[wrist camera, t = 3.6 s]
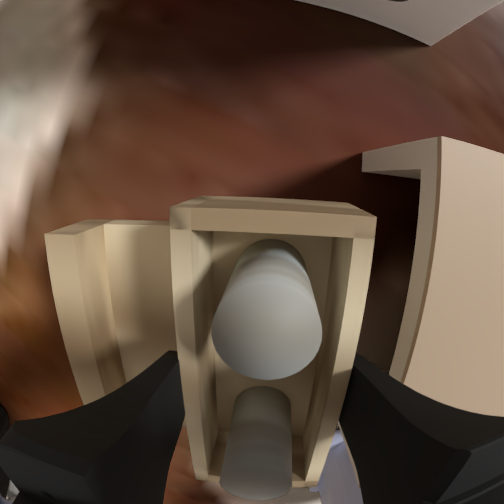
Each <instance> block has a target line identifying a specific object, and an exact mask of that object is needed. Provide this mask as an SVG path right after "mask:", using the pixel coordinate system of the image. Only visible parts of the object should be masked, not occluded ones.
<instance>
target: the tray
mask: <svg viewBox="0 0 504 504" xmlns="http://www.w3.org/2000/svg"><path fill="white" fill-rule="evenodd" d="M376 221H377V217H376V216H374V215H372V214H370V213H368V212H366V211H364V210H362V209H360V208H358V207H356V206H354V205H351V204H349V203H345V202H332V201H317V200H301V199H282V198H260V197H231V196H199V197H196V198H194V199H191V200H188V201H185V202H183V203H180V204H177V205H174V206H172V207H170V221H151V220H84V221H81V222H78V223H75V224H72V225H69V226H66V227H63V228H60V229H57V230H54V231H52V232H49V233H46V234H45V243H46V251H47V259H48V266H49V273H50V279H51V285H52V291H53V296H54V301H55V306H56V311H57V315H58V320H59V324H60V328H61V333H62V337H63V340H64V344H65V348H66V352H67V355H68V359H69V362H70V365H71V369H72V372H73V375H74V378H75V381H76V384H77V387H78V390H79V393H80V396H81V399H82V402H83V404H84V405H86V404H88V403H91V402H93V401H96V400H98V399H100V398H102V397H104V396H106V395H108V394H109V393H111V392H113V391H115V390H116V389H118V388H120V387H121V386H123V385H124V384H126V383H127V382H129V381H130V380H131V379H133V378H134V377H136V376H137V375H139V374H140V373H141V372H143V371H144V370H145V369H146V368H148V367H149V366H150V365H151V364H153V363H154V362H155V361H156V360H157V359H159V358H160V357H161V356H162V355H163V354H165V353H166V352H167V351H168V350H172V351H177V352H178V360H179V364H180V374H181V383H182V391H183V399H184V407H185V418H184V421H183V425H182V426H184V427H187V431H188V438H189V444H190V450H191V456H192V461H193V467H194V472H195V477H196V479H198V480H204V481H211V482H219V483H220V485H221V486H222V488H223V489H224V490H225V491H227V492H228V493H230V494H232V495H234V496H237V497H240V498H244V499H250V500H268V499H274V498H277V497H280V496H283V495H284V494H286V493H287V492H288V491H290V489H291V487H316V486H317V484H318V481H319V478H320V475H321V473H322V470H323V467H324V464H325V461H326V458H327V455H328V452H329V449H330V446H331V443H332V440H333V437H334V433H335V430H336V427H337V423H338V420H339V417H340V413H341V410H342V406H343V402H344V399H345V395H346V391H347V387H348V383H349V379H350V375H351V371H352V367H353V362H354V358H355V354H356V349H357V344H358V340H359V335H360V330H361V325H362V319H363V314H364V308H365V303H366V297H367V291H368V284H369V278H370V271H371V264H372V256H373V249H374V240H375V231H376Z"/></svg>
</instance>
